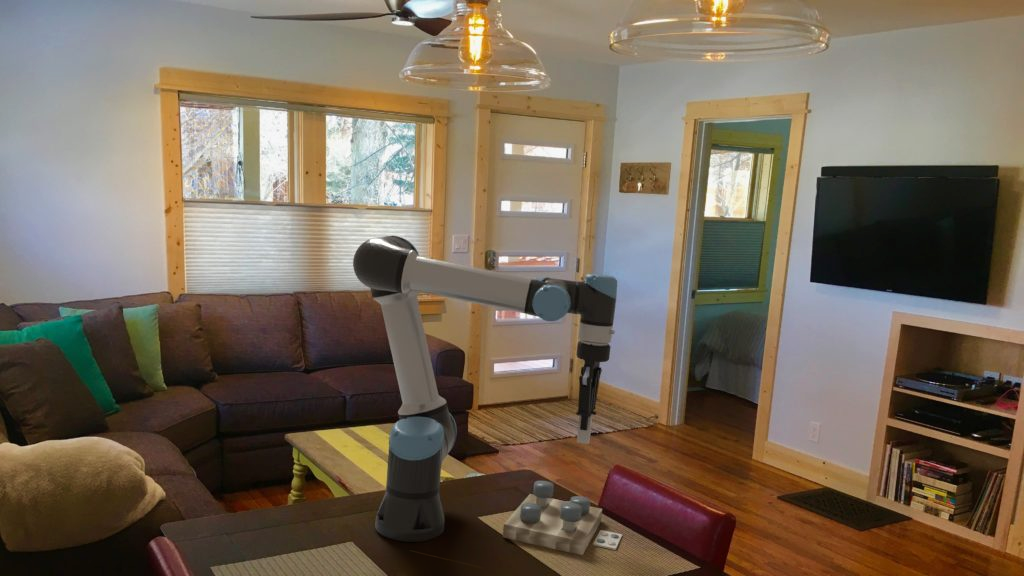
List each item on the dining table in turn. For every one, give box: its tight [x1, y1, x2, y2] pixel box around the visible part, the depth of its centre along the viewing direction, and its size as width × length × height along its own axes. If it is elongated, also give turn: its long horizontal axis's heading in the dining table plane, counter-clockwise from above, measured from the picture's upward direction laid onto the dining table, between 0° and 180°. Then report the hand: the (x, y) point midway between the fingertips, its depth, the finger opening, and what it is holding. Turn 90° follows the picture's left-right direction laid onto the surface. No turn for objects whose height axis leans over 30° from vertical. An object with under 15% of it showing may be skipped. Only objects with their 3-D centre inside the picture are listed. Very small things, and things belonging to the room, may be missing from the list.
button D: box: [569, 495, 591, 516], centre depth 174 cm, size 5×5×6 cm
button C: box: [560, 503, 582, 532], centre depth 165 cm, size 5×5×6 cm
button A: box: [520, 503, 541, 524], centre depth 167 cm, size 5×5×6 cm
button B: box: [533, 480, 555, 508], centre depth 177 cm, size 5×5×6 cm
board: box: [502, 493, 603, 556], centre depth 171 cm, size 18×20×3 cm
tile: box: [592, 529, 623, 551], centre depth 167 cm, size 5×8×1 cm, turn 162°
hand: (583, 442), depth 173 cm, fingers closed
